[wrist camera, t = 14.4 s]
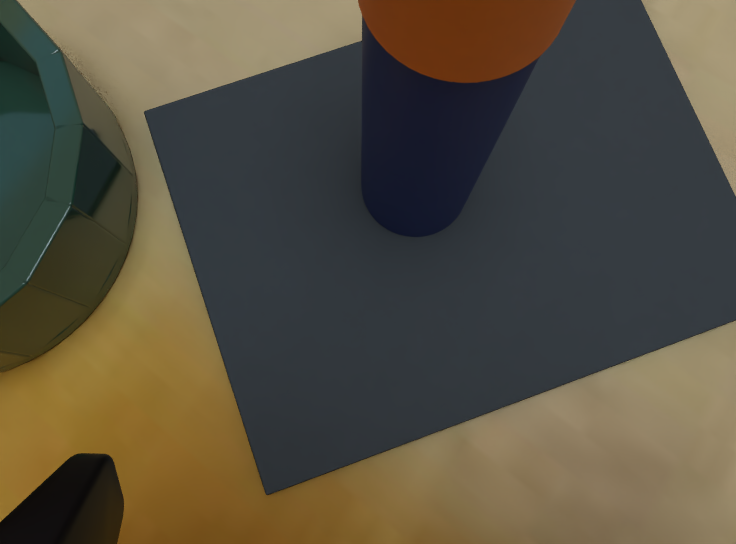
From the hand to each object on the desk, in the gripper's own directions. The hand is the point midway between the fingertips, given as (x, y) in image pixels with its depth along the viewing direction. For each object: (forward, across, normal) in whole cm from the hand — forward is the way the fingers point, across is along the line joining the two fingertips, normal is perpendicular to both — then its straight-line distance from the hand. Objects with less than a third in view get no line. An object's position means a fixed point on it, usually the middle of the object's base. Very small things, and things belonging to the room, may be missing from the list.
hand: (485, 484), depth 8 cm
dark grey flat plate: (+13, -1, +3) cm, 14 cm away
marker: (+13, 0, +3) cm, 13 cm away
